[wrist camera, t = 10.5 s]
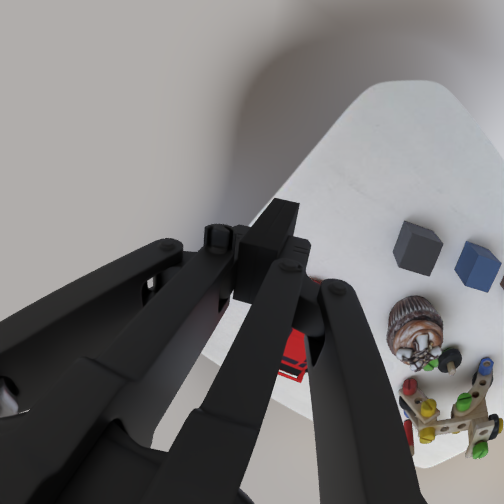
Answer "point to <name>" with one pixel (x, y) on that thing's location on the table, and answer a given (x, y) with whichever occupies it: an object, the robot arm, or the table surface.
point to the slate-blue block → (477, 267)
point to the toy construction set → (463, 411)
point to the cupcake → (415, 332)
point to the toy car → (294, 356)
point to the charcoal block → (417, 249)
